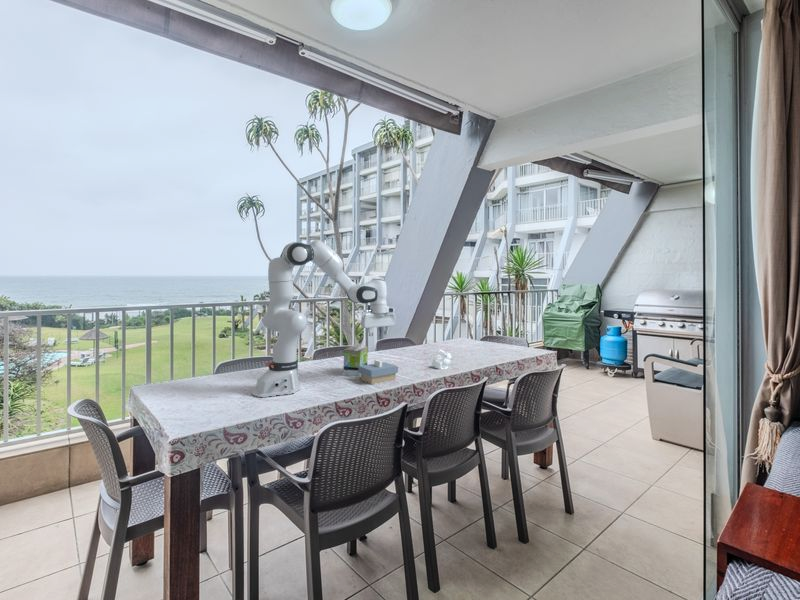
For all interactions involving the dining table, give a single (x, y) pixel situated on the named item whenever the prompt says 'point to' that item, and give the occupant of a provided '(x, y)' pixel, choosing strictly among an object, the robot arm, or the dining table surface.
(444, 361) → the rabbit
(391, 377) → the mailer box
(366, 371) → the mailer lid
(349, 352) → the tea box
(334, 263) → the robot arm
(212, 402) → the dining table surface
